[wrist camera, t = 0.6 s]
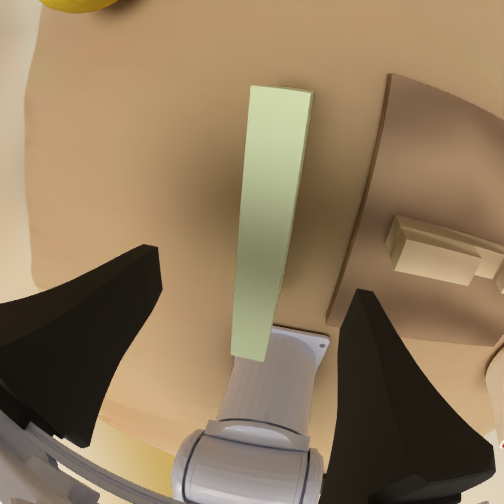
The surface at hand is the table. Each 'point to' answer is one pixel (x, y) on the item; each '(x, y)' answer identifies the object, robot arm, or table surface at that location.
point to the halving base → (431, 220)
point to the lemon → (77, 5)
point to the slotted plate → (267, 210)
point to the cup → (497, 393)
